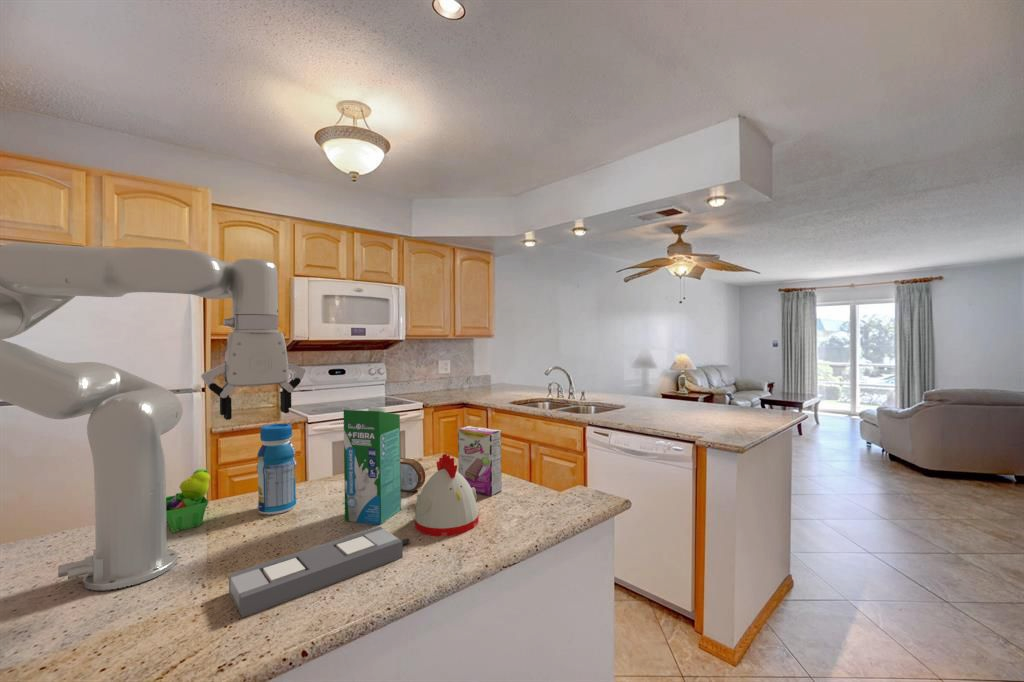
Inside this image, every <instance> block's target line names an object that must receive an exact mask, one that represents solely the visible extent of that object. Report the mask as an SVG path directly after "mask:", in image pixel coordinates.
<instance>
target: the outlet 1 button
mask: <svg viewBox="0 0 1024 682" xmlns="http://www.w3.org/2000/svg"><path fill="white" fill-rule="evenodd" d="M303 571H305V568H304V567H303V565H302V564H301V563H300V562H299V561H298V560H297V559H296V558H293V559H290V560H287V561H284V562H281V563H278V564H275V565H272V566H268V567H265V568H263V575H264V577H265V578H266V580H267V581H268V582H269V583H271V582H274V581H277V580H280V579H283V578H286V577H289V576H292V575H294V574H297V573H300V572H303Z"/></svg>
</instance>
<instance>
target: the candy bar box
mask: <svg viewBox="0 0 1024 682" xmlns="http://www.w3.org/2000/svg"><path fill="white" fill-rule="evenodd" d="M457 437H458V438H457V441H458V443H457V449H458V451H457V453H458V456H457V457H458V458H457V459H458V463H457V466H458V473H460V474H461V475H462V476H463V477H464V478H465V479H466V481H467V482H468V483H469V485H470V487H471V488H472V487H474V488H475V490H476V492H477V493H476V494H480V495H481V494H482V495H485V496H491V497H492V496H493V497H494V496H495V495H496V493H497V494H499V493H500V492H502V430H500V429H495V428H487V427H478V426H473V425H467V426H464V427H459V428H458V429H457Z"/></svg>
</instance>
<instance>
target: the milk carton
mask: <svg viewBox="0 0 1024 682" xmlns="http://www.w3.org/2000/svg"><path fill="white" fill-rule="evenodd" d="M400 416H401V415H400V414H398V413H391V412H387V411H386V407H381V406H379V407H378V406H377V407H376V406H368V409H367V410H360V409H359V410H357V409H343V467H344V468H343V470H344V471H343V473H344V474H343V476H344V479H343V481H344V521H345V522H350V523H351V522H352V523H360V524H369V525H370V524H371V525H378V526H381V525H382V524H383V523H384V522H386V521H388V520H389V519H390V518H391V517H393V516H394V515H395V514H397V513H398V512H399V511H401V510H402V498H401V497H402V496H401V495H402V491H401V476H400V458H401V430H400V429H401V417H400Z"/></svg>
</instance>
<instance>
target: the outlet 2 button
mask: <svg viewBox="0 0 1024 682" xmlns="http://www.w3.org/2000/svg"><path fill="white" fill-rule="evenodd" d="M336 547H337V549H338V550H339V551H340V552H341V553H342V554H343V555H344V556H346V557H347V556H349V555H352V554H355V553H358V552H361V551H364V550H367V549H370V548H373V547H375V545H374V544H373V543H371V542H370V541H369V540H367V539H366V538H365V537H363V536H362V537H359V538H355V539H352V540H349V541H346V542H343V543H340V544H337V545H336Z"/></svg>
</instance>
